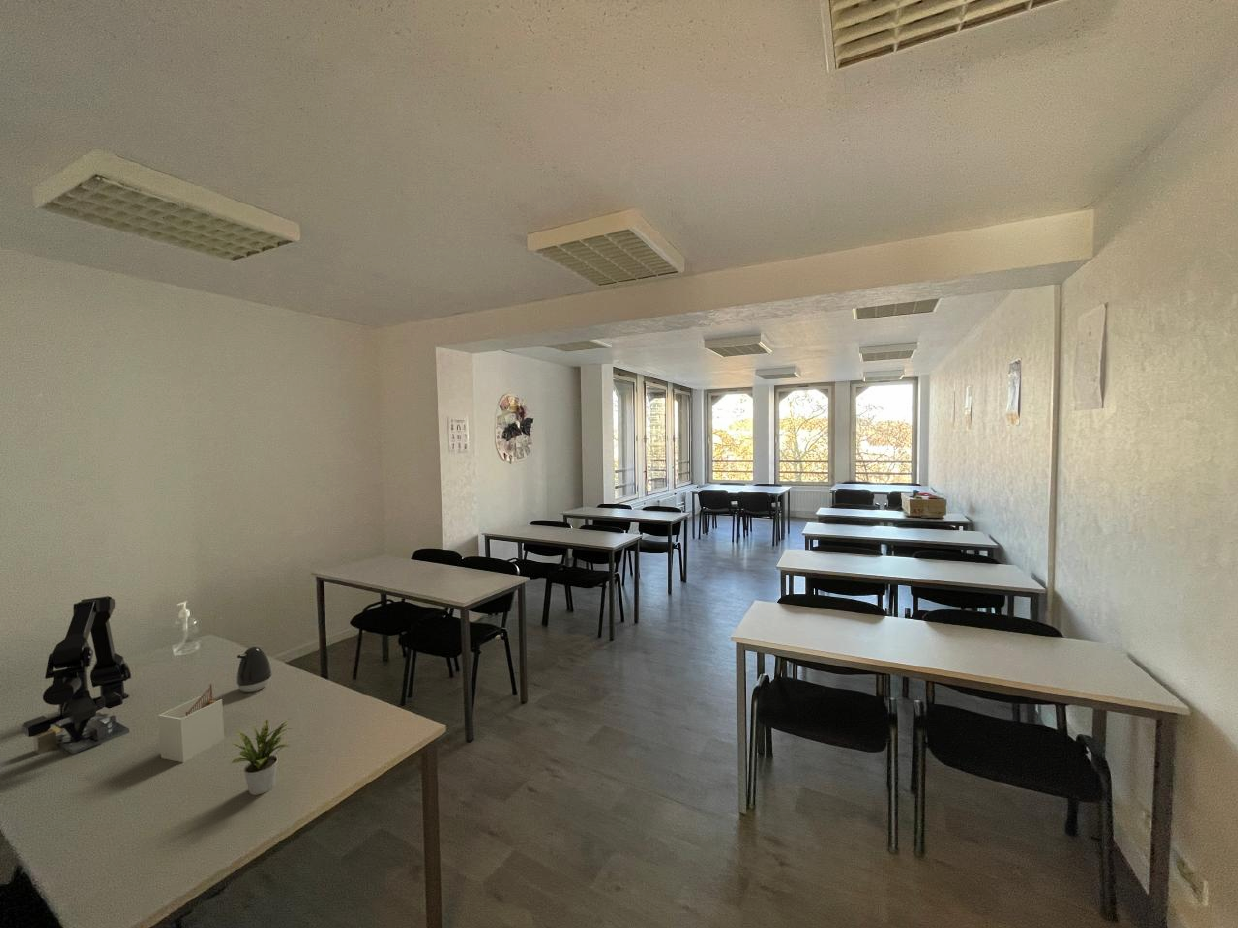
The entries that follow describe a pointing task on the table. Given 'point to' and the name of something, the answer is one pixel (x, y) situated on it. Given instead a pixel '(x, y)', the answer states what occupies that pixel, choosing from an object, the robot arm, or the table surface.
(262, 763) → the house plant
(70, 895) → the table surface
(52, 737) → the striped gift box
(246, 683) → the pump dispenser
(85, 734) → the sprocket
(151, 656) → the table surface
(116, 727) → the base plate
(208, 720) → the white planter box
